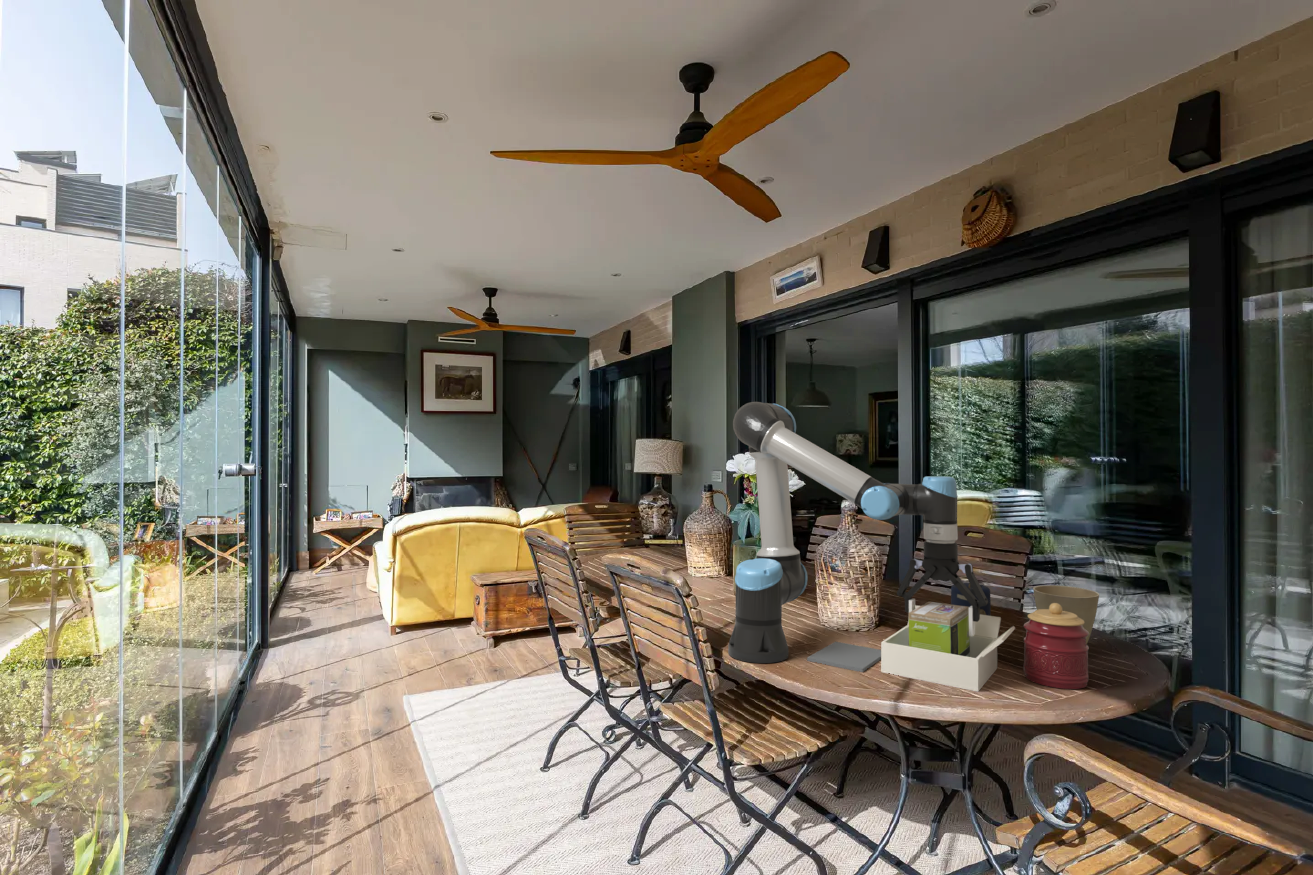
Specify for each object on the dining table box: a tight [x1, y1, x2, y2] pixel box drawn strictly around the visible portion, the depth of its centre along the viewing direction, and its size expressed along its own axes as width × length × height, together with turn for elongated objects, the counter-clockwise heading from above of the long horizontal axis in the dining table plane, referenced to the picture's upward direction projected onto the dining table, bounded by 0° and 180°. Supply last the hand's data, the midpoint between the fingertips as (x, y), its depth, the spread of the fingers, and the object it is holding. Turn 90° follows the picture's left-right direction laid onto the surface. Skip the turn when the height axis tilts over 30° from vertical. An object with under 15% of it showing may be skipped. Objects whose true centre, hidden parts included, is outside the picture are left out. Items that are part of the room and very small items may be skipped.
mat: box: [806, 641, 881, 673], centre depth 176 cm, size 14×18×1 cm
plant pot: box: [1033, 584, 1100, 645], centre depth 182 cm, size 15×15×16 cm
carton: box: [880, 604, 1016, 692], centre depth 167 cm, size 26×25×12 cm
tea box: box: [907, 601, 970, 657], centre depth 166 cm, size 15×10×15 cm, turn 141°
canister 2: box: [1023, 603, 1090, 690], centre depth 160 cm, size 13×13×18 cm
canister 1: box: [950, 582, 992, 616], centre depth 183 cm, size 10×10×18 cm
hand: (941, 630), depth 166 cm, fingers open, 13 cm apart
